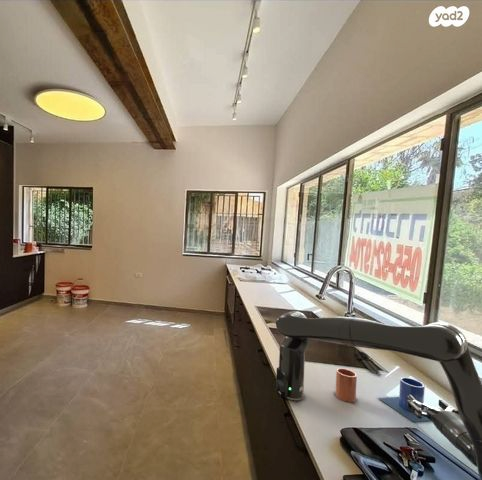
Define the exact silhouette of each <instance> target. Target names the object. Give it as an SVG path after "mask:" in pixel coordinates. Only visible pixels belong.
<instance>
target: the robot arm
mask: <svg viewBox="0 0 482 480" xmlns="http://www.w3.org/2000/svg"><path fill="white" fill-rule="evenodd" d="M275 327H276V329H277V331H278V332H279V333H280V335H282V336H284V337H283V339H282V340H281V341H280V342H279V357H278V362H279V363H278V367H276V377H275V393H276V395H277V396H278V397H279V398H281V397H282V399H284V400H290V401H296V402H297V401H299V402H300V401H302V400H303V399H304V398H305V397H304V396H305V395H304V392H305V391H304V390H305V368H306V367H305V366H306V365H305V363H306V351H307V348H308V346H309V339H311V340H316V341H321V342H325V343H332V344H338V345H343V346H349V347H354V348H355V347H356V348H362V349H363V348H364V349H371V350H379V351H391V352H396V353H401V354H406V355H410V356H414V357H418V358H422V359H426V360H430V361H433V362H439V365H440V366H441V368H442V370H443V372H444V374H445V376H446V378H447V381H448V383H449V386H450V389H451V393H452V397H453V400H454V404H455V407H456V408H454V407H453V406H451V405H449V404H448V403H447V402H445V401H444V400H442V399H438V406H439V408H438V407H433V406H431V405H429V404H427V403H425V402H424V403H420V402H418V401H417V400H416V399H415V398H414V397H413V396H412V395H408V396H407V408H408V409H409V410H410V411H411V412H412V413H413V414H414V415H415V416H416V417H417V418H419V419H422V417H427V418H428V419H430V420H431V421H430V422H432V423H433V425H434V426H435V428H436V429H437V431H439V433H440V434H441V435H442V436H443V437H445V439H446V440H447V441H448V442H449V443H450V444H451V445H452V446H453V447H454V448H455V449H457V450H458V451H459V452H460V453H461V454H462V455H463V456H464V457H465V458H466V459H467V460H468V461H469V462H470V463H471V464H472V465H473V466H474V467H476V468H477V472H478V476H479V479H480V480H482V380H481V378H480V376H479V373H478V370H477V368H476V366H475V363H474V360H473V357H472V354H471V351H470V347H469V344H468V340H467V338H466V336H465V334H463V332H462V331H461V330H460V329H459V328H457V327H455V326H454V325H451V324H449V323H445V322H440V321H438V322H437V321H436V322H431V323H428V324H426V325H423V326H422V325H420V326H415V325H414V326H410V325H409V326H407V325H406V326H405V325H392V324H391V325H390V324H385V323H381V322H378V321H374V320H371V319H366V318H362V317H352V316H351V317H349V316H325V317H315V318H311V317H307V316H306V315H305V314H304V313H302V312H300V311H297V310H294V311H289V312H286V313H283V314H281V315H279V316H278V317H277V319H276V321H275ZM418 405H420V406H421V408H419V407H418ZM426 408H428V410H427V412H426Z"/></svg>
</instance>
